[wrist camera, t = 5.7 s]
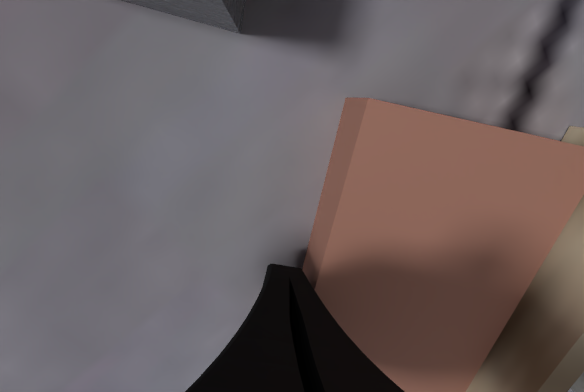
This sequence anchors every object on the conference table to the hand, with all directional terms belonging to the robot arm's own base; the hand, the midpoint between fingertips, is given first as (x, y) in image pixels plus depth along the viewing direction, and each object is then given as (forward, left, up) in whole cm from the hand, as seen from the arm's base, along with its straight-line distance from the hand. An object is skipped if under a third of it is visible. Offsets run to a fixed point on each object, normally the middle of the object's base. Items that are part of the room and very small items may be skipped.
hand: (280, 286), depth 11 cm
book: (+1, -5, -2) cm, 5 cm away
